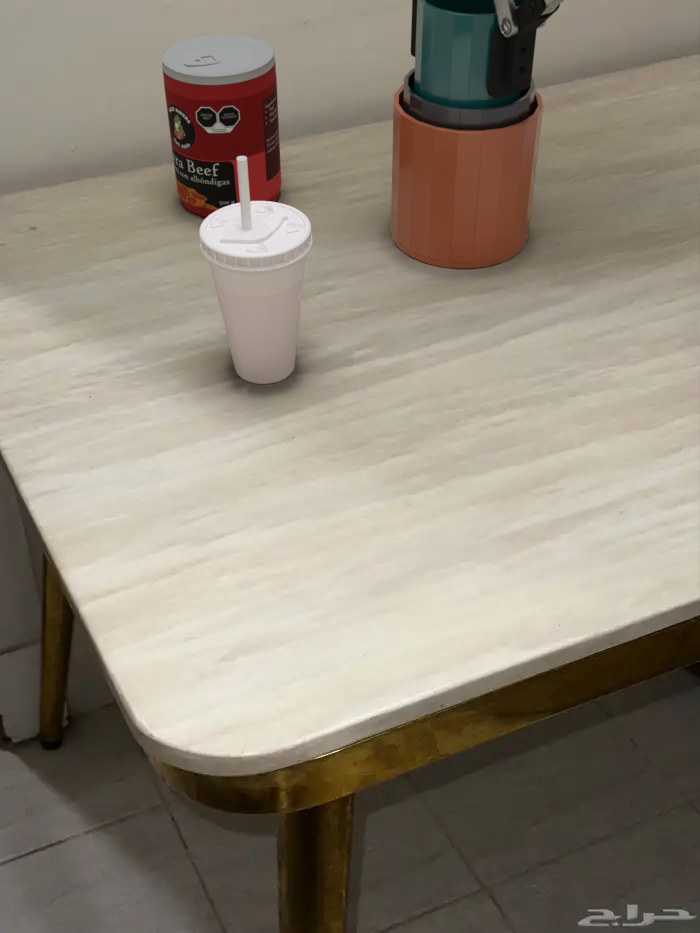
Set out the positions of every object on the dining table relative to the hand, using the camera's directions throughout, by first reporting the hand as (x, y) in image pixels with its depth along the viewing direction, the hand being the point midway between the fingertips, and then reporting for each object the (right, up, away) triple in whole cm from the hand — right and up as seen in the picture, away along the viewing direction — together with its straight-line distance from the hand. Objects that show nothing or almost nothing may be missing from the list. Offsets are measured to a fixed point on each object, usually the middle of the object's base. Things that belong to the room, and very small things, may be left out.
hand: (468, 70), depth 73 cm
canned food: (-17, -5, +12) cm, 22 cm away
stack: (0, -9, +8) cm, 12 cm away
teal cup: (0, -3, +2) cm, 4 cm away
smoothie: (-13, -20, -4) cm, 24 cm away
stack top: (0, -9, +8) cm, 12 cm away
